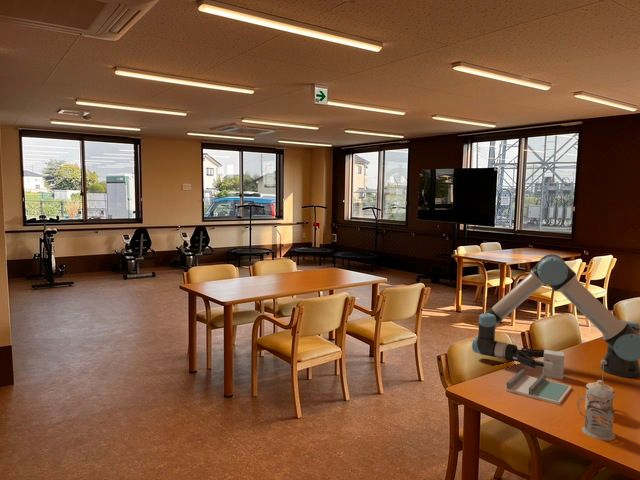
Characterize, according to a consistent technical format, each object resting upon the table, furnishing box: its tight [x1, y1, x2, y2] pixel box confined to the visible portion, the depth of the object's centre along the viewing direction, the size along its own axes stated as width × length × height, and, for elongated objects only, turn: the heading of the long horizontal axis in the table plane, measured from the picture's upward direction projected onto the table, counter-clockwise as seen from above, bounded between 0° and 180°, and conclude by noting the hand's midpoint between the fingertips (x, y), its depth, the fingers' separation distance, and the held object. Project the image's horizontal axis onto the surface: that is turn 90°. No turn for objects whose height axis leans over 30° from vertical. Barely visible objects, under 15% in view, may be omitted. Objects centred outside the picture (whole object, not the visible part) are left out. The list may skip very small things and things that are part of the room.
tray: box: [506, 368, 572, 405], centre depth 195 cm, size 20×20×4 cm
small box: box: [542, 349, 565, 380], centre depth 210 cm, size 8×6×10 cm
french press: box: [576, 359, 617, 441], centre depth 160 cm, size 10×12×25 cm
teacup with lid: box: [584, 379, 615, 415], centre depth 177 cm, size 12×9×12 cm
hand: (556, 362), depth 209 cm, fingers open, 13 cm apart
